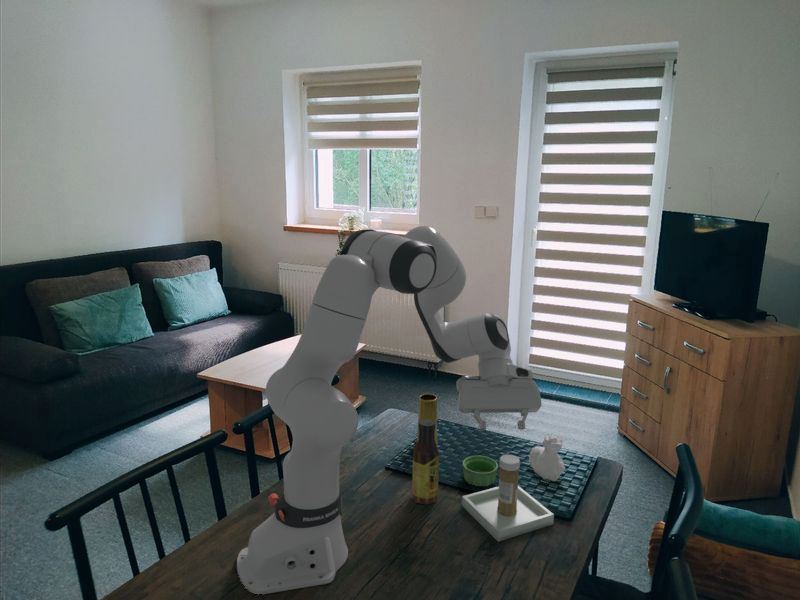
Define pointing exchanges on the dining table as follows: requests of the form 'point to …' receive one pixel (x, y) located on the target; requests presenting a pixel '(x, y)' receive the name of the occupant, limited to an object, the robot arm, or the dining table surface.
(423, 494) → the sauce bottle
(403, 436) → the dining table surface
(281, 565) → the robot arm
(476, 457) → the ramekin
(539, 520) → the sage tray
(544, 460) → the duck figurine
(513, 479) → the sprinkles bottle
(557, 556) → the dining table surface
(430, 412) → the vase
